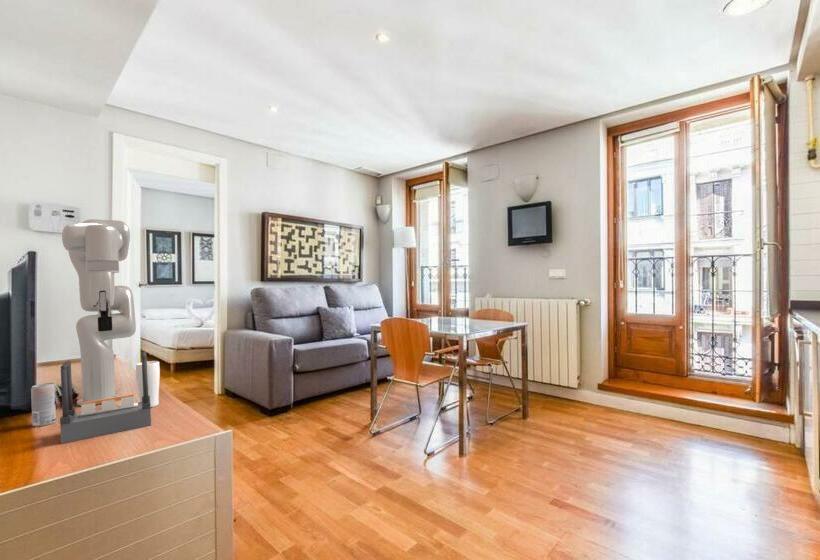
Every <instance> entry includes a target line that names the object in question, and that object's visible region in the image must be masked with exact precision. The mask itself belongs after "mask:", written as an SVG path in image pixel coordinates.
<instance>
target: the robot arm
mask: <svg viewBox="0 0 820 560" xmlns="http://www.w3.org/2000/svg"><path fill="white" fill-rule="evenodd" d="M61 232H62V233H61V240H62V241H61V242H62V245H63V247H64V249H65V250H66V251H67V253H68V256H69V259H70V262H71V263H72V266H73V267H74V269H75V271H76V273H77V275H78V276H77V277H78V286H79V287H78V288H79V289H78V291H79V301H80V307H81V309H82V310H83V311H85V312H90V313H96V312H97V314H91V315H90V314H89V315H85V316H82V317H80V318H79V319H78V321H77V322H76V324H75V325H76V326H75V329H76V334H77V335H76V336H77V338H78V345H79V352H80V370H81V371H80V372H81V374H80V376H81V394H82V397H81V398H80V399H78V400H77V401H76V405H77V406H80V407H81V403H82V402H87V401H93V400H99V399H105V398H111V397H117V396H122V395H121V393H120V392H116V382H115V381H116V379H115V376H116V375H115V357H114V356H115V352H114V350H113V348H112V347H111V346H110V345H109V344H107V343H106V342H105V341H107V340H115V339H116V340H117V339H123V338H125V339H126V338H130V337H132V336H134V335H135V333H136V329H137V326H136V325H137V323H136V313H135V301H134V293H133V291H132V289H131V288H130V287H129V286H126V285H115V273H117V274H118V273H120V262H122V261H125V260H126V259H127V258H128V255H129V248H130V241H131V230H130V227H129V225H128V224H127V223H126V222H125V221H122V220H114V219H113V220H111V219H97V218H96V219H95V218H93V219H86V220H84V221H82V222H80V223H79V222H78V223H70V224H69V223H68V224H66V225H65V226H64V227H63V229H62V231H61ZM112 311H113V312H115V311H117V313H112ZM96 405H98V404H96ZM100 405H102V403H101V404H100Z"/></svg>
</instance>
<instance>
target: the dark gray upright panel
mask: <svg viewBox="0 0 820 560" xmlns="http://www.w3.org/2000/svg"><path fill="white" fill-rule="evenodd" d="M60 383H61V386H60V387H61V388H60V389H61V405H62V409H61V411H62V416H61V417H60V418H59V424H60V425H63V424H69V423H71V416H74V415H75V414H76V407H74V405H73V387H72V386H73V381H72V363H71V361H70V360H66V361H65V362H64V363H63V364H62V365H60Z"/></svg>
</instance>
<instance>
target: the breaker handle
mask: <svg viewBox="0 0 820 560" xmlns="http://www.w3.org/2000/svg"><path fill="white" fill-rule="evenodd" d="M134 395H135V394H134V393H131V394H126V395H125V394H123V395H121V396H117V397H111V398H105V399H99V400H93V401H87V402H82V403H81V406H80V407H81V412H77V417H81V416H86V415H92V414H98V413H103V412H109V411H115V410H120V409H126V408H131V407H137V406H138V403H139V402H135V397H134ZM119 401H120V405H117V407H116V402H119ZM101 403H102V404H101ZM134 403H135V404H134ZM96 404H97V405H101V408H100V410H99V409H97V407H96Z"/></svg>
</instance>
